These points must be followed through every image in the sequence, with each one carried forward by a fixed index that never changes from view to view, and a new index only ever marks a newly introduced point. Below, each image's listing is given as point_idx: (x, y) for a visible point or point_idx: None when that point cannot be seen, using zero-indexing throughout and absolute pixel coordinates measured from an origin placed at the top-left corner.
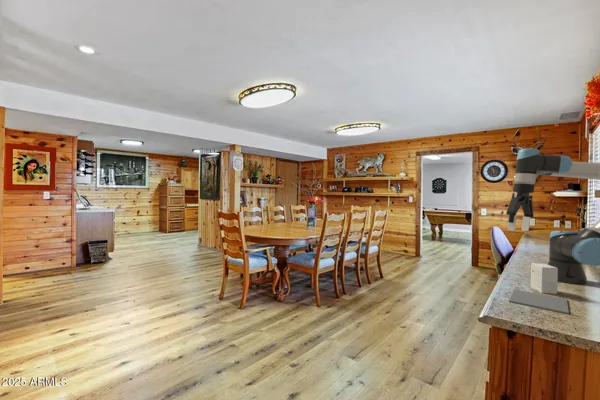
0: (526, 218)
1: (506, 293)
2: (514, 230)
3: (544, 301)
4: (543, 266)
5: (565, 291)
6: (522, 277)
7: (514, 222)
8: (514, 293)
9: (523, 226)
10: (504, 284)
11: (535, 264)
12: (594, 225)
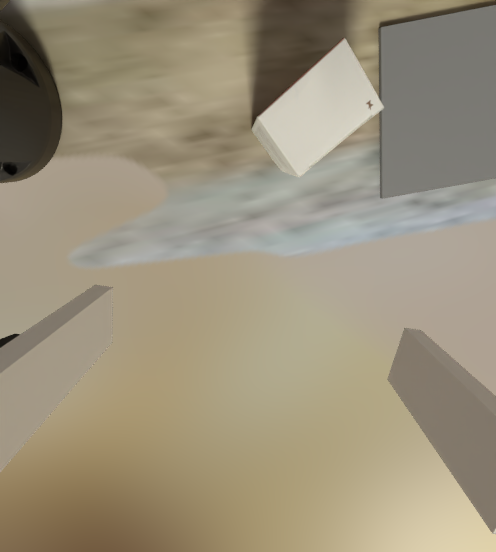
0: (17, 405)
1: (439, 203)
2: (414, 330)
3: (478, 83)
4: (356, 107)
5: (229, 58)
6: (135, 233)
7: (475, 387)
8: (441, 181)
9: (91, 351)
10: (316, 242)
11: (323, 152)
12: None
